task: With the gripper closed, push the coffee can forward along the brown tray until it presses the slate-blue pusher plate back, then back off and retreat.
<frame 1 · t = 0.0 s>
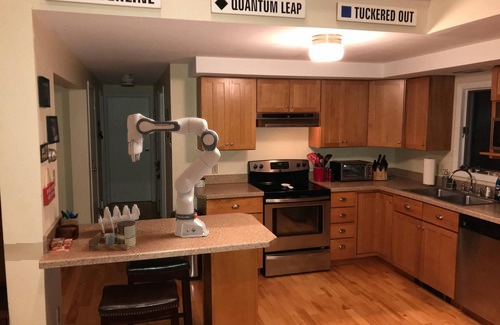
hand: (135, 160, 251), 48 cm above the breakfast bar, tool pointing down, fingers open, 8 cm apart
coffee can: (127, 246, 233), on the breakfast bar
brown tray: (112, 246, 232), on the breakfast bar
white spiky piece: (119, 231, 263), on the breakfast bar
pusher: (108, 239, 232), point 4 cm above the breakfast bar, slide at 0.0 cm
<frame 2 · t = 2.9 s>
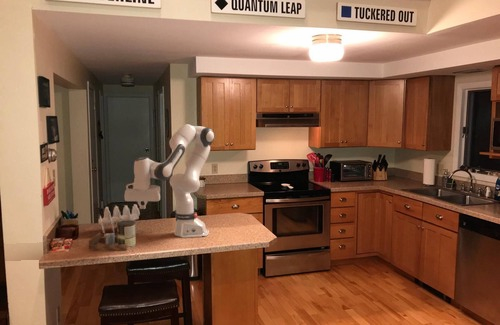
hand: (142, 208, 230), 22 cm above the breakfast bar, tool pointing down, fingers closed
nothing on the breakfast bar moved.
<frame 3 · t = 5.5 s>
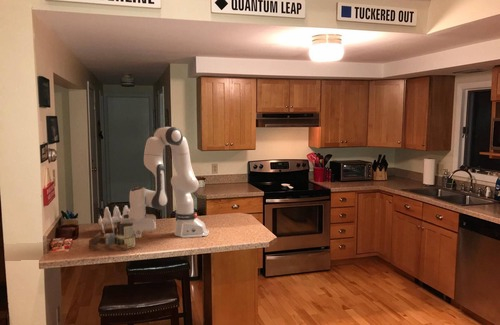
hand: (138, 237, 232), 5 cm above the breakfast bar, tool pointing down, fingers closed
coffee can: (126, 246, 233), on the breakfast bar, touching gripper
everything else where it was.
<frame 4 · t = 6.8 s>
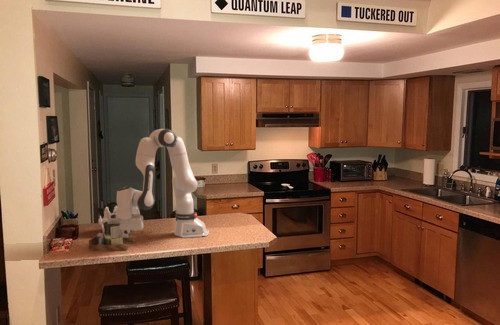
hand: (125, 237, 232), 5 cm above the breakfast bar, tool pointing down, fingers closed
coffee can: (113, 246, 233), on the breakfast bar, touching gripper
pusher: (101, 240, 232), point 4 cm above the breakfast bar, slide at 3.8 cm
everything else where it was.
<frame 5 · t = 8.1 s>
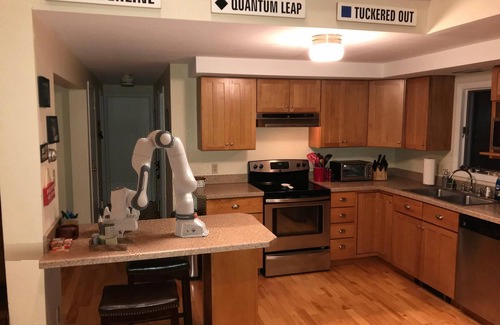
hand: (120, 237, 232), 5 cm above the breakfast bar, tool pointing down, fingers closed
coffee can: (108, 246, 232), on the breakfast bar, touching gripper, pusher
pusher: (96, 240, 232), point 4 cm above the breakfast bar, slide at 7.1 cm, touching coffee can
everything else where it was.
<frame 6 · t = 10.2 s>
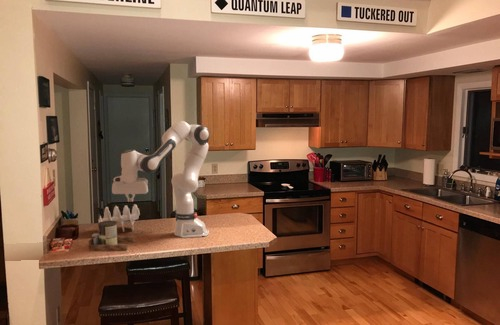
hand: (130, 201, 230), 27 cm above the breakfast bar, tool pointing down, fingers closed
coffee can: (108, 246, 233), on the breakfast bar
pusher: (96, 240, 232), point 4 cm above the breakfast bar, slide at 7.0 cm
everything else where it was.
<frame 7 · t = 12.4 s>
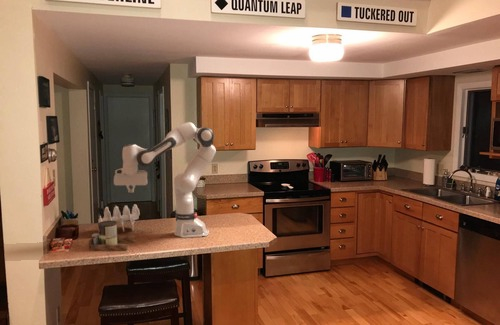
hand: (131, 192, 245), 29 cm above the breakfast bar, tool pointing down, fingers closed
nothing on the breakfast bar moved.
at the end: coffee can inside the target area (0.1 cm from its centre), on the breakfast bar; pusher slide at 7.0 cm; coffee can tilted 0° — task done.
